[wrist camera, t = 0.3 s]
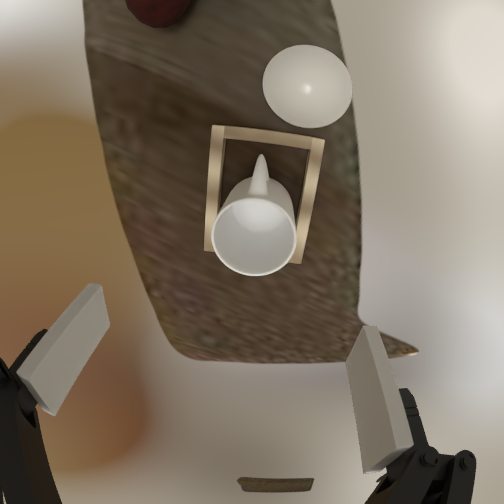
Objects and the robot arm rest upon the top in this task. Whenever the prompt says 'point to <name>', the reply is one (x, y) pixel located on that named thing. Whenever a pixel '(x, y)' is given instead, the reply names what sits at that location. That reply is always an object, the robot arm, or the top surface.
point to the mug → (255, 225)
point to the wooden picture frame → (271, 137)
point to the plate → (307, 86)
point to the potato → (157, 11)
